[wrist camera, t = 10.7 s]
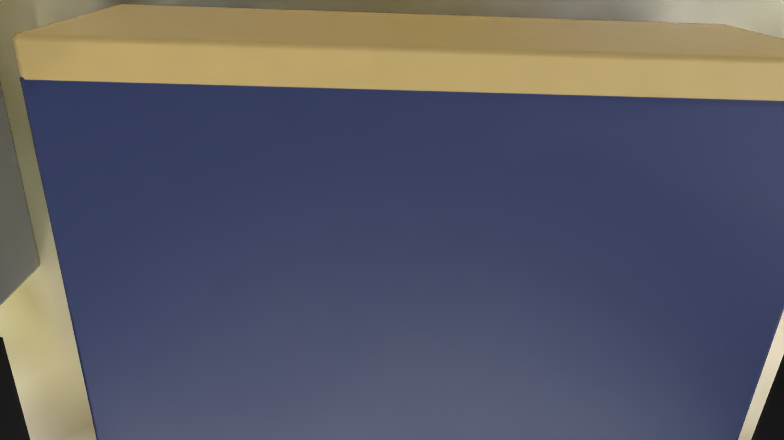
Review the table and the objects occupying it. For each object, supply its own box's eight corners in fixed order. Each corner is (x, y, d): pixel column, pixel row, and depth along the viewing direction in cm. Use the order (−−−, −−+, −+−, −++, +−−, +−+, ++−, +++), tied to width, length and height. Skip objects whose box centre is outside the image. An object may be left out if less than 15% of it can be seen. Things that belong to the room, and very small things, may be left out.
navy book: (118, 3, 9) (8, 33, 6) (726, 24, 9) (873, 60, 7) (198, 578, 14) (158, 732, 11) (588, 575, 15) (639, 723, 12)
